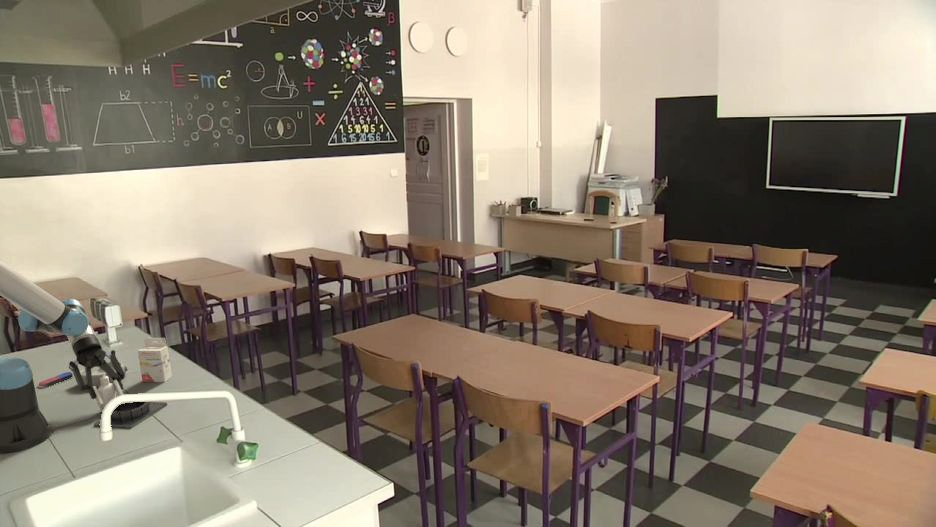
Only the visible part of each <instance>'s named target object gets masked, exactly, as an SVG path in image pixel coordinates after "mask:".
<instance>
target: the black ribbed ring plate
mask: <svg viewBox="0 0 936 527" xmlns="http://www.w3.org/2000/svg"><path fill="white" fill-rule="evenodd" d="M167 406H168V402H161V401H150V402H133V403H125V404H121V405H119V406H118V407H117V408H116V409H115V410H114V411H113V413H112V415H111V425H112V427H111V428H121V429H123V428H126V429H132V428H134V427H136V426H138V425H139V424H141V423H142V422H143V421H145V420H146V419H148V418H150V417H152V416H153V415H154V414H156V413H157V412H158V411H161V410H162V409H163V408H165V407H167ZM99 424H100V419H99V420H97V421H95V422H94V423H93V426H94V427H100V426H99Z"/></svg>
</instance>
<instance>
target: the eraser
mask: <svg viewBox="0 0 936 527" xmlns="http://www.w3.org/2000/svg"><path fill="white" fill-rule="evenodd" d="M73 376H74V374H73V372H72V371H71V372H70V371H66V372H63V373H60V374H59V375H56V376H55V375H54V376H53V377H50V378H48V379H45V380H42V381H40V382H39V383H38V385H37V388H38V389H46V387H47V388H49V386H50V387H52V386H55V385H57V384H56V383H58V384H60V383H59V382H61V383H63V382H65V381H64V380H66V381H68V380H67V379H69V378H71V377H72V378H73ZM72 378H71V379H72ZM69 380H70V379H69ZM62 381H63V382H62ZM54 384H55V385H54Z"/></svg>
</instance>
